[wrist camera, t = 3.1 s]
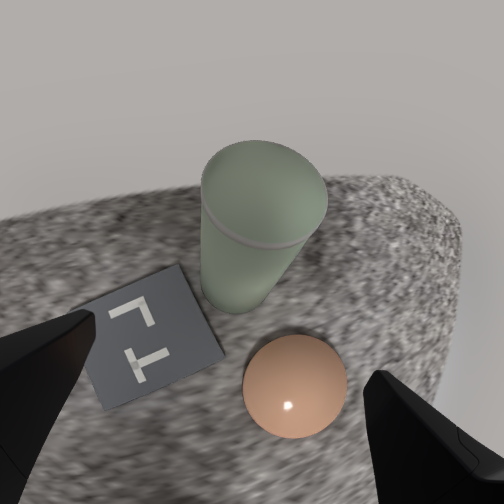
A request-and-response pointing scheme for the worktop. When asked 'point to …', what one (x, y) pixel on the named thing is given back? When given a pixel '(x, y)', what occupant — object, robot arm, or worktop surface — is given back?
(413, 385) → the worktop surface
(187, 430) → the worktop surface
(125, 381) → the tile
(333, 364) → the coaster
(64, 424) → the worktop surface
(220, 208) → the green tumbler
